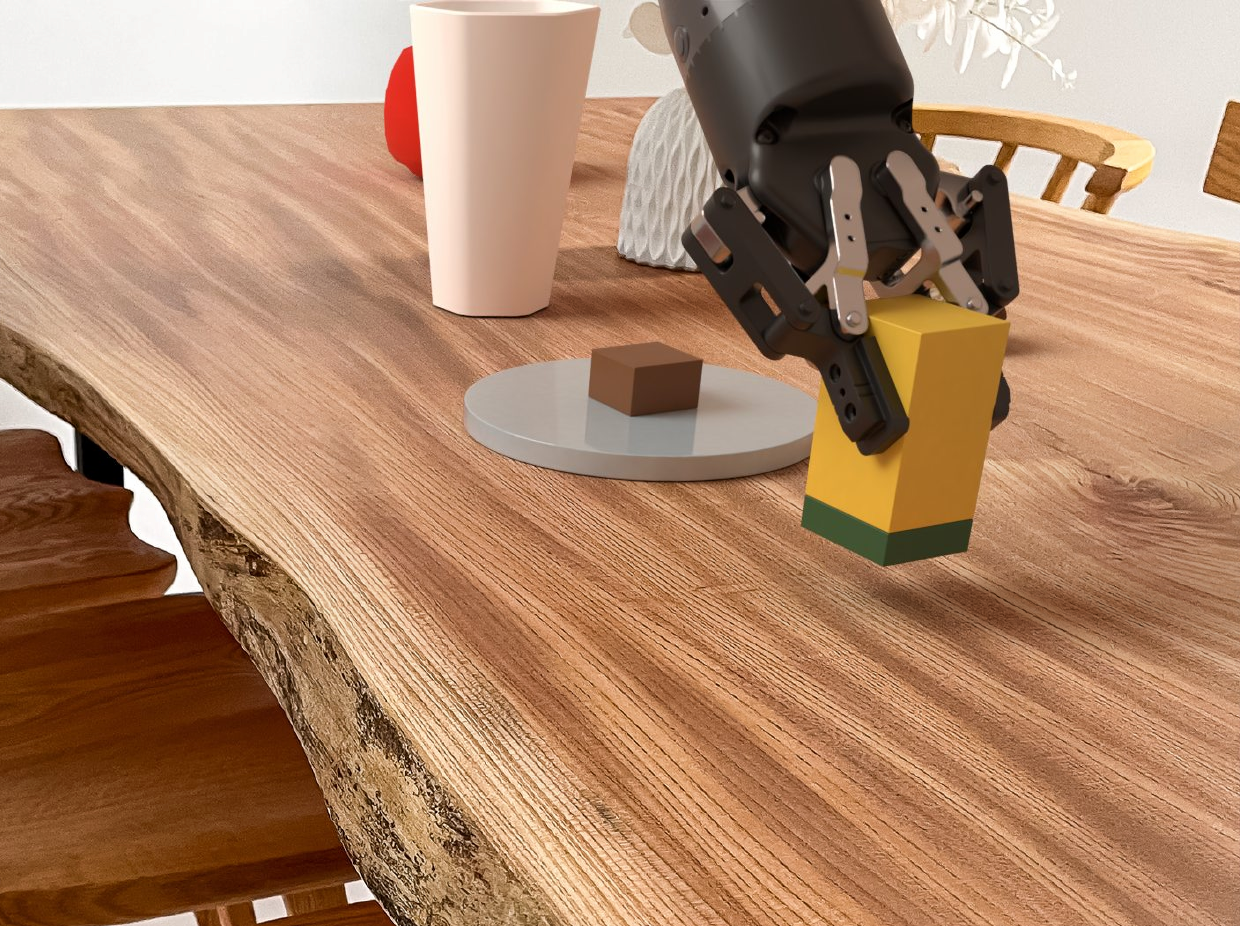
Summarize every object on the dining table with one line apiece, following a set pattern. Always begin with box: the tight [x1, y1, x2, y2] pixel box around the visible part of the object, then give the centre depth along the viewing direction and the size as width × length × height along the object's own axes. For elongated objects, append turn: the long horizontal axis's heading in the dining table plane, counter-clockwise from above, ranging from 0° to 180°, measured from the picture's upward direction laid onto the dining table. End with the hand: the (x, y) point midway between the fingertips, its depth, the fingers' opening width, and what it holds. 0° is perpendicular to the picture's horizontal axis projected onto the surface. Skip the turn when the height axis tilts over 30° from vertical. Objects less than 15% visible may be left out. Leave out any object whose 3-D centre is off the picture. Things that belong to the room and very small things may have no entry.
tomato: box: [383, 44, 423, 180], centre depth 152 cm, size 14×13×10 cm
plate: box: [462, 357, 818, 482], centre depth 89 cm, size 18×18×1 cm
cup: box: [409, 0, 602, 317], centre depth 108 cm, size 11×10×17 cm
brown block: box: [588, 341, 704, 417], centre depth 88 cm, size 4×4×2 cm
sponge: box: [800, 294, 1011, 568], centre depth 66 cm, size 5×4×8 cm
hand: (937, 434), depth 64 cm, fingers closed on sponge, 4 cm apart
